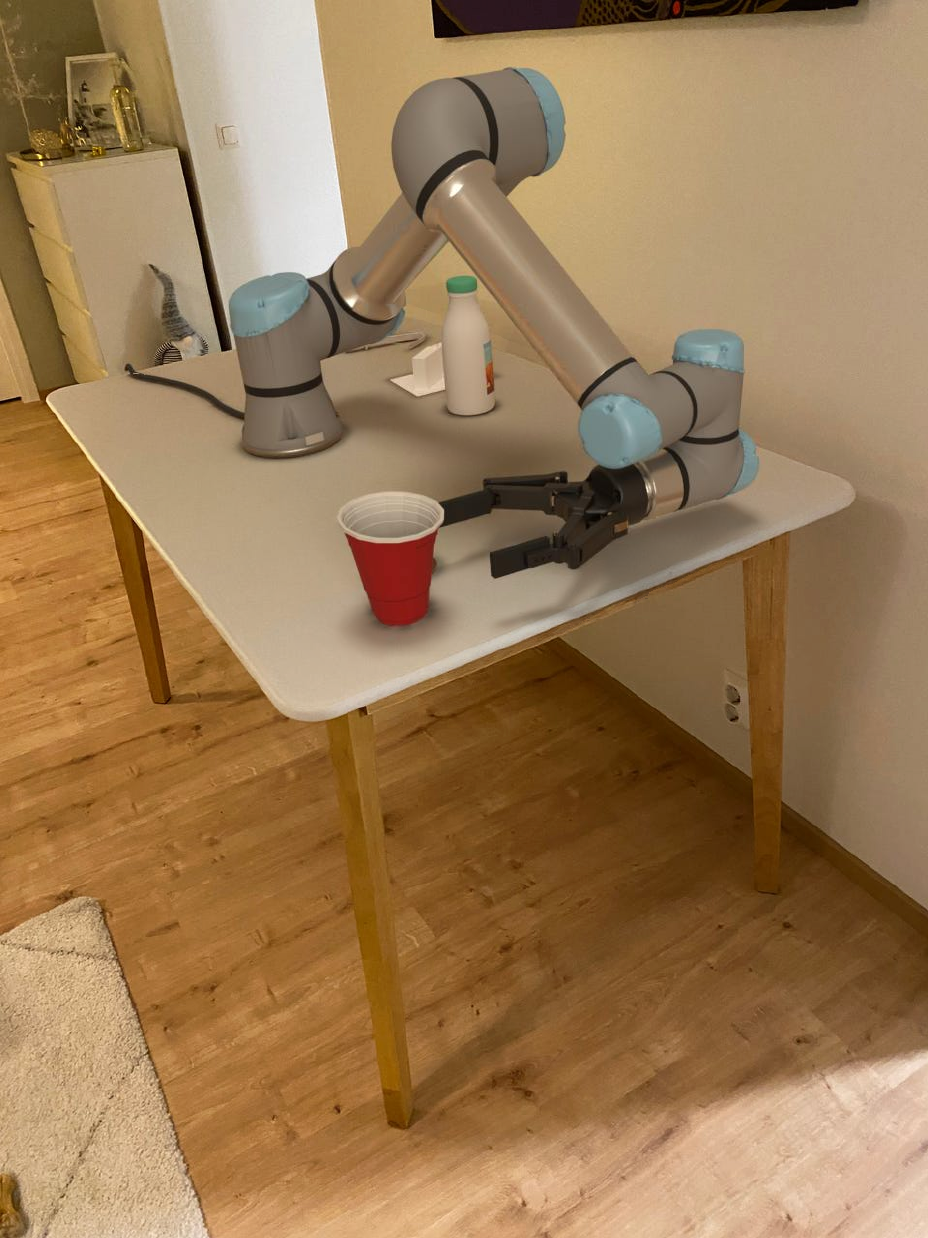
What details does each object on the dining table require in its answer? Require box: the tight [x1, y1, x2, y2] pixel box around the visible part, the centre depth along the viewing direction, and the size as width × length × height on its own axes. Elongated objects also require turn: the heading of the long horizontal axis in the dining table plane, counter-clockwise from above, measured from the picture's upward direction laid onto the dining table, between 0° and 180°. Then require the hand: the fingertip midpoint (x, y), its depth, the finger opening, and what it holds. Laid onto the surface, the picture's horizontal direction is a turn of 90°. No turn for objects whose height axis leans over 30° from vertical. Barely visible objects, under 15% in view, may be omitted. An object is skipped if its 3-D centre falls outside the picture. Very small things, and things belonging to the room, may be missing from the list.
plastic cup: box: [336, 490, 444, 627], centre depth 101 cm, size 11×11×12 cm
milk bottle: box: [440, 275, 496, 416], centre depth 150 cm, size 8×8×20 cm
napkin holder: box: [390, 341, 445, 398], centre depth 167 cm, size 15×11×6 cm
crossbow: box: [349, 329, 426, 352], centre depth 188 cm, size 16×13×2 cm
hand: (462, 539), depth 103 cm, fingers open, 13 cm apart
